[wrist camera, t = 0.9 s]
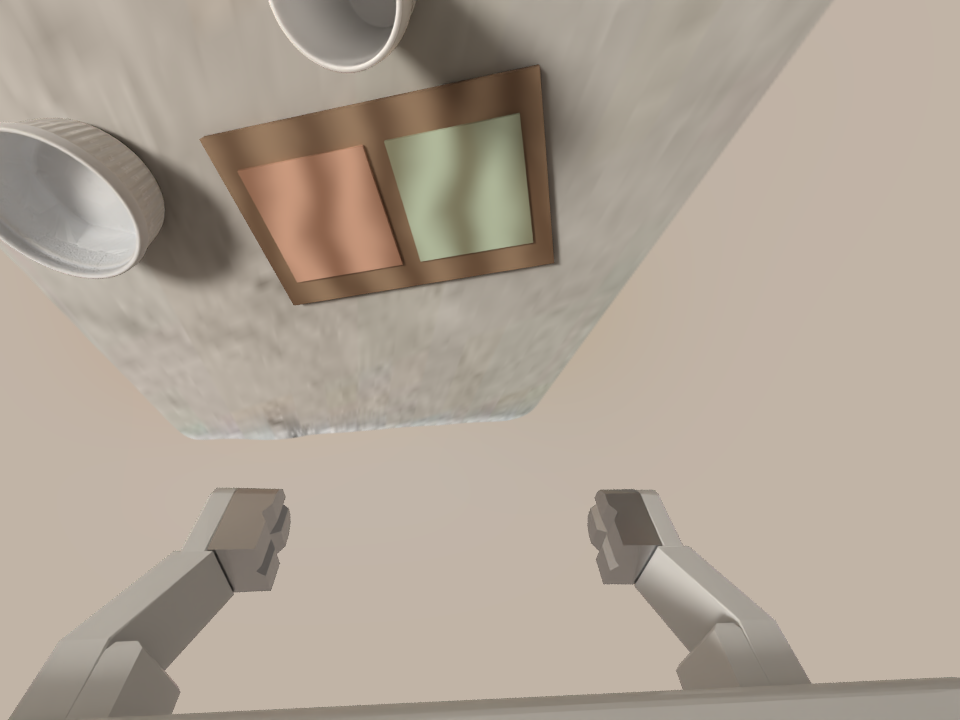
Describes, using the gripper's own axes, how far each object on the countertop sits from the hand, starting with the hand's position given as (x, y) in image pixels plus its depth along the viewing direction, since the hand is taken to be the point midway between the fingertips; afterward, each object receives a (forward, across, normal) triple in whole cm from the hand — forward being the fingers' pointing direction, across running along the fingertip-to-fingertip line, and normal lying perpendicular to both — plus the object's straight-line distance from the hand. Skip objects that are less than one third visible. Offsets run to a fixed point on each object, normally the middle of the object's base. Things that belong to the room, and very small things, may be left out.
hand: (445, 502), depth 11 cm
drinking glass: (+36, +5, -13) cm, 38 cm away
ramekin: (+39, +33, +4) cm, 51 cm away
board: (+37, +5, +4) cm, 38 cm away
